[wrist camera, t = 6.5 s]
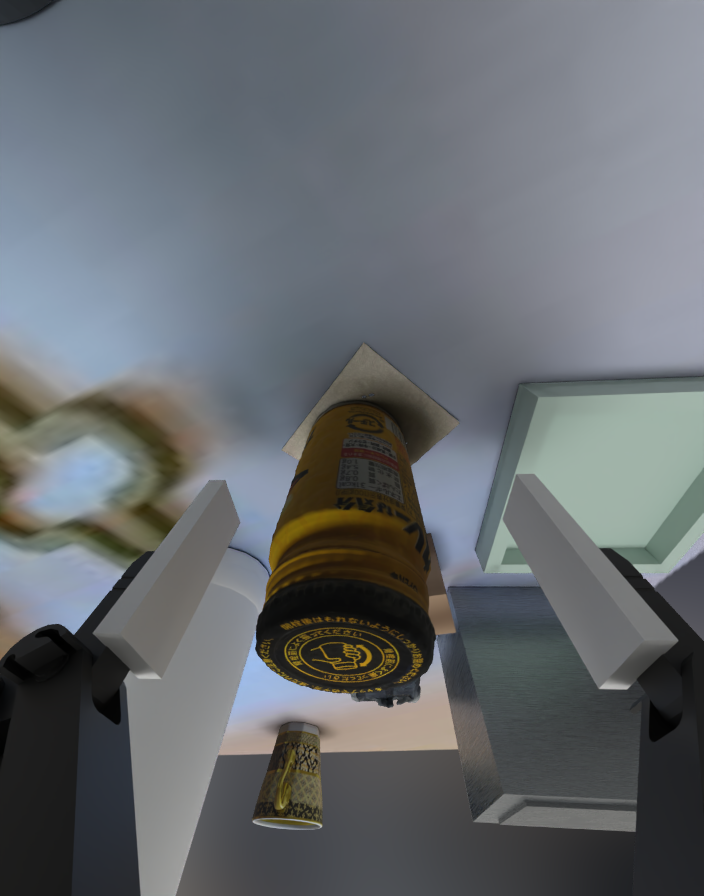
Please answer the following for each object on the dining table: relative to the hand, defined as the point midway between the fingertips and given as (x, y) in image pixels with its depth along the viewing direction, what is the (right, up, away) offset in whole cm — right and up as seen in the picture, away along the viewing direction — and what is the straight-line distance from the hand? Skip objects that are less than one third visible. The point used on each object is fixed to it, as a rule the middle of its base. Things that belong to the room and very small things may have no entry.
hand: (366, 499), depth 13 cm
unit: (+14, -14, +15) cm, 25 cm away
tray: (+15, 0, +6) cm, 16 cm away
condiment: (0, +3, +5) cm, 6 cm away
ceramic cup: (-10, -45, +35) cm, 57 cm away
